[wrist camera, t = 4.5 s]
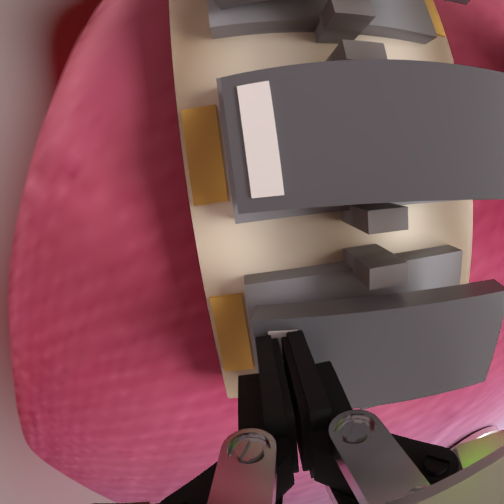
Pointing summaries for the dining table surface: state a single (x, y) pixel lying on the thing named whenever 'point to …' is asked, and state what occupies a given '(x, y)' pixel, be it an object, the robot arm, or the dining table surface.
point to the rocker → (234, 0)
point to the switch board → (304, 219)
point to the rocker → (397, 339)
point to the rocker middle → (364, 133)
